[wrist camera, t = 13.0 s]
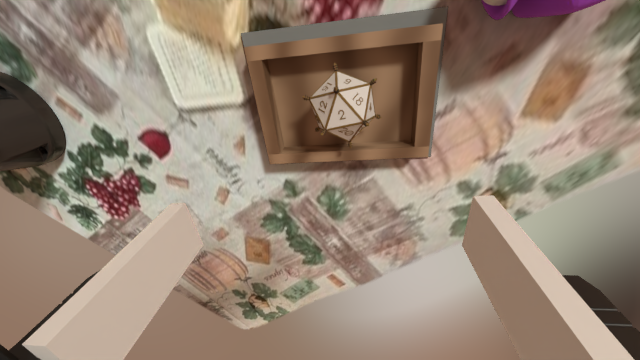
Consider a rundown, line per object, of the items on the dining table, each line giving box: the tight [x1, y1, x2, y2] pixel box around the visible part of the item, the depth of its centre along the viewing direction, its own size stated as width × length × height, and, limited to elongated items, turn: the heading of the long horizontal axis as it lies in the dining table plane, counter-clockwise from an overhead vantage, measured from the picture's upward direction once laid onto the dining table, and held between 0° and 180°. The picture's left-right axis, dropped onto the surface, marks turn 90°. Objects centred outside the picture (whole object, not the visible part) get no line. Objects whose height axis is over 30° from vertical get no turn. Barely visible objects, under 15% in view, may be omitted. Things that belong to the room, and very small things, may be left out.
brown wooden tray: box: [244, 23, 443, 164], centre depth 33 cm, size 22×15×4 cm
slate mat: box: [241, 7, 448, 164], centre depth 34 cm, size 24×18×1 cm
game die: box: [302, 62, 382, 148], centre depth 30 cm, size 9×8×10 cm
